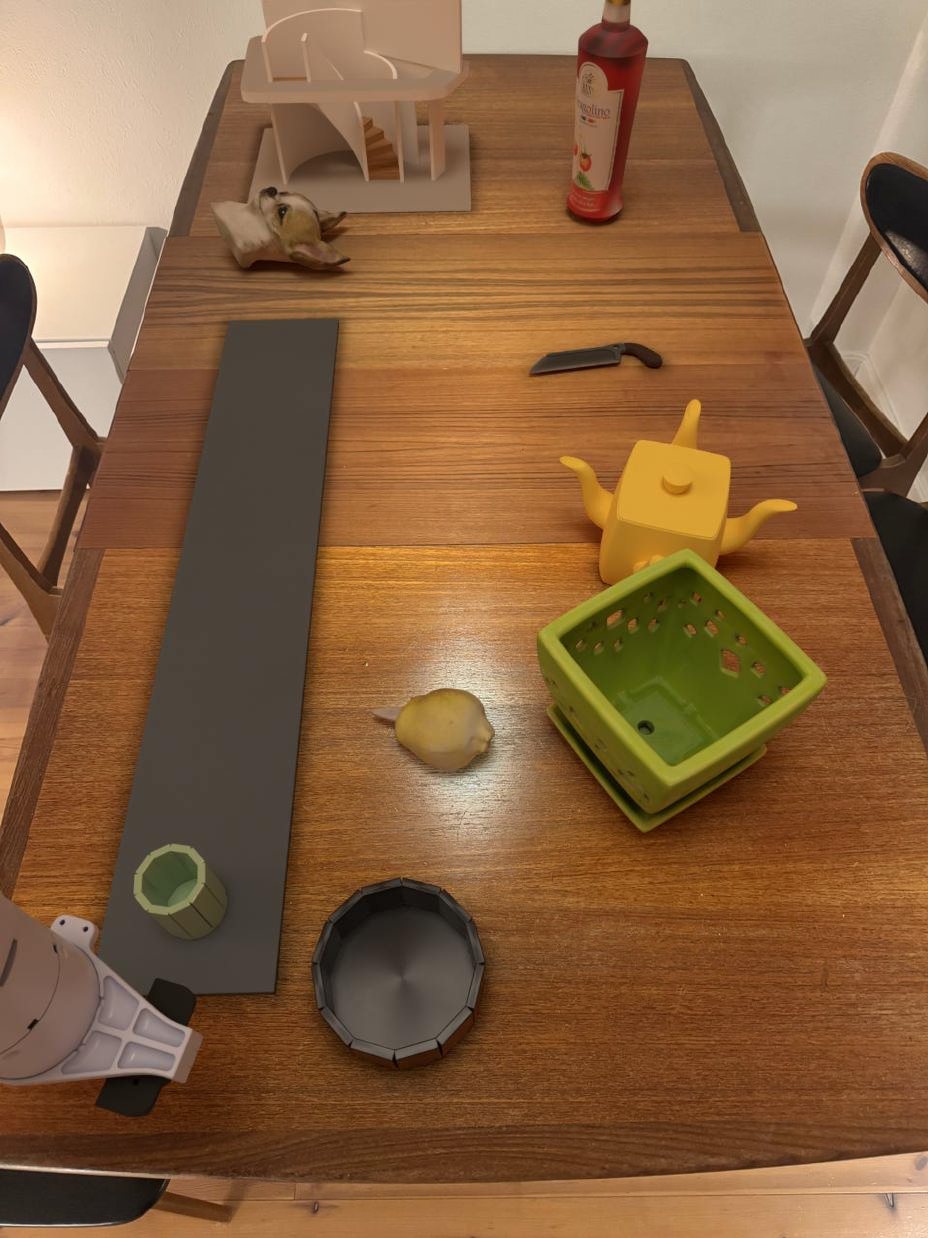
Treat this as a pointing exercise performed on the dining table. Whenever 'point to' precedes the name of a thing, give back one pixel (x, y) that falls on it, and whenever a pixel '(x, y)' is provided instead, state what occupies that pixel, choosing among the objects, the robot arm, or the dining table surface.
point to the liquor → (605, 110)
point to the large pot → (399, 973)
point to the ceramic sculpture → (278, 230)
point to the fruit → (442, 727)
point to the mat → (233, 667)
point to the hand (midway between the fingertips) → (105, 1041)
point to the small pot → (180, 891)
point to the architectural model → (360, 104)
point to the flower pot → (671, 685)
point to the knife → (595, 357)
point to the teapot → (668, 505)
